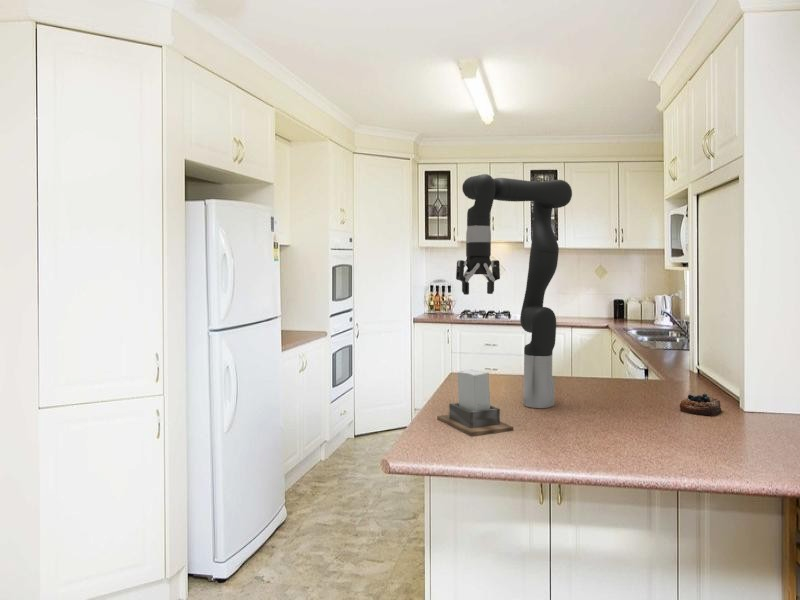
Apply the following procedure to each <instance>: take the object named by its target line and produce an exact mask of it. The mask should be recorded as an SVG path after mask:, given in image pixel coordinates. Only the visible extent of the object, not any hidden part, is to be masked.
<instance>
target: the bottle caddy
mask: <svg viewBox="0 0 800 600" xmlns="http://www.w3.org/2000/svg"><path fill="white" fill-rule="evenodd" d="M448 406H449V407H448V412H449V414H442V415H437V417H436V419H437V420H438V421H440V422H441V423H444V424H446V425H447V426H450V427H452V428H454V429H456V430H458V431H460V432H462V433H464V434H466V435H468V436H469V437H476V436H483V435H492V434H497V433H498V434H499V433H506V432H511V431H512V432H513V431H514V426H512V425H510V424H507V423H505V422H503V421H501V420H500V419H501V416H500V415H501V409H500V408H498V407H496V406H493V405H491V404H490V409H488V410H479V411H469V410H467V409H464V408H462V407H460V406H459V402H452V403H451V402H450V403H449V404H448Z"/></svg>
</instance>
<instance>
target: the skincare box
mask: <svg viewBox="0 0 800 600" xmlns="http://www.w3.org/2000/svg"><path fill="white" fill-rule="evenodd" d="M457 385H458V386H457V389H458V391H457V393H458V403H459V406H460V407H462V408H464V409H467V410H469V411H479V410H488V409H490V405H491V397H490V396H491V395H490V393H491V392H490V373H489V372H488V371H482V370H481V371H480V370H476V369H467V370H461V371H457Z"/></svg>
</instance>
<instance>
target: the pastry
mask: <svg viewBox="0 0 800 600" xmlns="http://www.w3.org/2000/svg"><path fill="white" fill-rule="evenodd" d="M679 408H680V409H679V411H680V412H681V413H683V414H684V413H685V414H688V415H689V414H690V415H694V416H695V415H696V416H702V417H703V416H704V417H714V416H717V415H719V414H720V413H723V411H722V406H721V401H720V400H719V399H718V398H716V397H713V396H711V395H708V393H703V394H702V395H700V394H688V395H687V398H684V399H681V401H680V403H679Z"/></svg>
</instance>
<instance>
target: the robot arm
mask: <svg viewBox="0 0 800 600" xmlns="http://www.w3.org/2000/svg"><path fill="white" fill-rule="evenodd" d="M462 193H463V195H464V196H465V197H466V198H468V199H469V200H473V201H474V204H473V205H472V206H471V207H470V208H468V210H467V211H466V212H467V214H466V217H467V218H466V232H465V256H466V260H462V259H461V260H460V259H459V260H456V261H457V262H456V273H455V279H456V280H457V281H460V282H461V292H462V293H463V295H466V296H467V295H470V282H469V281H470V279H471V278H472V277H473V276H474V275H483V276H484V277H485V279H486V280H487V282H486V283H487V284H486V293H487V294H488V295H493V294H494V292H495V282H496V281H497V280H498V281H499V280H500V279H501V273H500V270H501V269H500V260H498V259H495V260H491V256H492V254H491V251H492V234H491V211H492V208H493V204H494V200H495V201H500V202H502V201H503V202H533V223H532V235H531V244H530V250H529V251H530V252H529V260H528V261H529V262H528V270H527V279H526V286H525V287H526V288H525V293H524V297H523V302H522V306H521V311H520V317H519V322H520V325H521V326H520V327H522V329H523V330H524V331H525V332H526V333H529V334H530V333H531V339H530V342H529V343H527V344H525V345H524V347H523V348H524V349H523V351H524V352H523V406H524V407H525V406H526V407H528V408H533V409H546V408H547V409H548V408H551V407H554V406H555V379H556V378H555V377H554V376H553V353H554V352H553V351H554V348H555V345H556V338H557V335H556V334H557V317H556V314H555V312H554V310H552V308H550V307H547V306H544V301H545V300H544V299H545V295H546V290H547V288H548V286H549V284H550V283H551V281H552V279H553V277H554V275H555V273H556V270H557V267H558V261H559V260H558V259H559V252H560V251H559V250H560V248H559V244H558V240H557V238H556V235H555V233H554V231H553V227H552V213H553V209H559V208H563V207H566V206H567V205H569V203H570V202H571V200H572V196H573V189H572V187H571V185H570V184H569V182H567V181H566V180H563V179H551V180H546V181H545V180H544V181H535V180H532V181H531V180H525V179H524V180H523V179H518V178H517V179H516V178H507V177H495V178H493V177H492V176H491V175H490V174H486V173H483V174H478V175H474V176H470V177H467V178H466V179H465V180H464V182H463V184H462ZM465 267H466V270H465ZM490 268H491V269H490Z"/></svg>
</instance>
